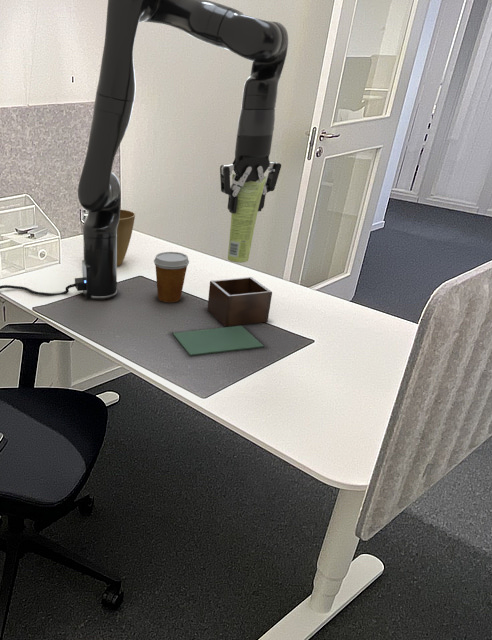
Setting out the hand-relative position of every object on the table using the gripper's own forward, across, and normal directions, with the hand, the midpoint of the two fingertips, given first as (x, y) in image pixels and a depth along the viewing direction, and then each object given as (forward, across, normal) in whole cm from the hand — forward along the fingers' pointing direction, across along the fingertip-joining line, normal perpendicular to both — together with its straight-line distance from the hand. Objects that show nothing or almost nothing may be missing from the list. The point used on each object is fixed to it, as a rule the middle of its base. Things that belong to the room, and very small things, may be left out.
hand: (245, 211), depth 132 cm
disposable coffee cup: (+28, +10, -19) cm, 35 cm away
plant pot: (+28, +18, -54) cm, 63 cm away
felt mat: (+27, +8, +10) cm, 30 cm away
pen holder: (+27, -3, -3) cm, 28 cm away
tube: (+12, 0, 0) cm, 12 cm away
